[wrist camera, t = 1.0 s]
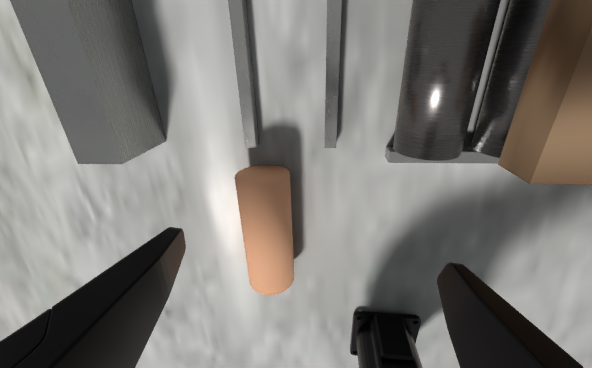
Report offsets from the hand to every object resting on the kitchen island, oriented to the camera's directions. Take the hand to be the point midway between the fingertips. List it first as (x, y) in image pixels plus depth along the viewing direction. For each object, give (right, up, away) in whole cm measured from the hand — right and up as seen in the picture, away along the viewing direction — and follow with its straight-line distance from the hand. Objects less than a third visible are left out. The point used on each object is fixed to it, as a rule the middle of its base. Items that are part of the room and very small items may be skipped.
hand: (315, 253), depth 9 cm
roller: (-3, -1, +14) cm, 14 cm away
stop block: (-13, +10, +10) cm, 19 cm away
